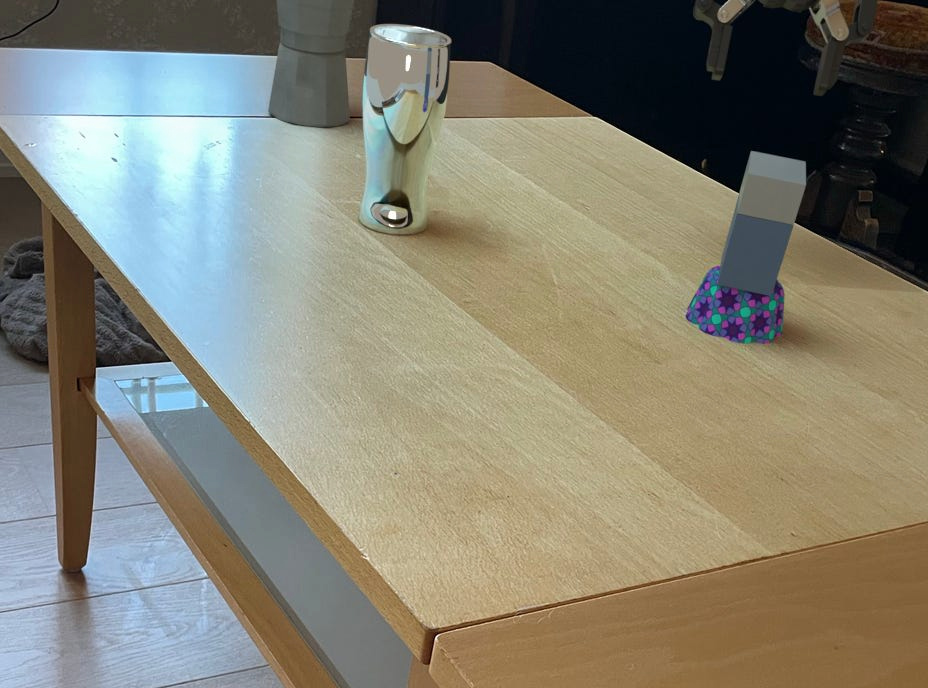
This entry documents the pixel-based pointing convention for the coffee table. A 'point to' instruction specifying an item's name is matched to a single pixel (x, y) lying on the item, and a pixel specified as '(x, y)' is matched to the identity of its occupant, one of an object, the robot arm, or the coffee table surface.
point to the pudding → (736, 311)
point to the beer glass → (401, 123)
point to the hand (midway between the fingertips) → (768, 85)
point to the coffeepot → (312, 63)
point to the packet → (762, 223)
